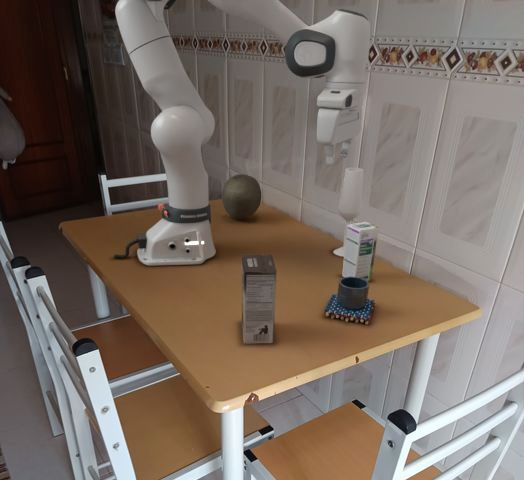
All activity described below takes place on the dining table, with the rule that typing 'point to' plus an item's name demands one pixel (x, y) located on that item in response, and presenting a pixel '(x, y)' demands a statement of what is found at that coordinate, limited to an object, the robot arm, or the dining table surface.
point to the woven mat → (350, 311)
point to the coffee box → (258, 298)
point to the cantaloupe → (241, 196)
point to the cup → (352, 293)
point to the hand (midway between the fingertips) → (337, 160)
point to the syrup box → (360, 250)
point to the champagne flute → (350, 199)
